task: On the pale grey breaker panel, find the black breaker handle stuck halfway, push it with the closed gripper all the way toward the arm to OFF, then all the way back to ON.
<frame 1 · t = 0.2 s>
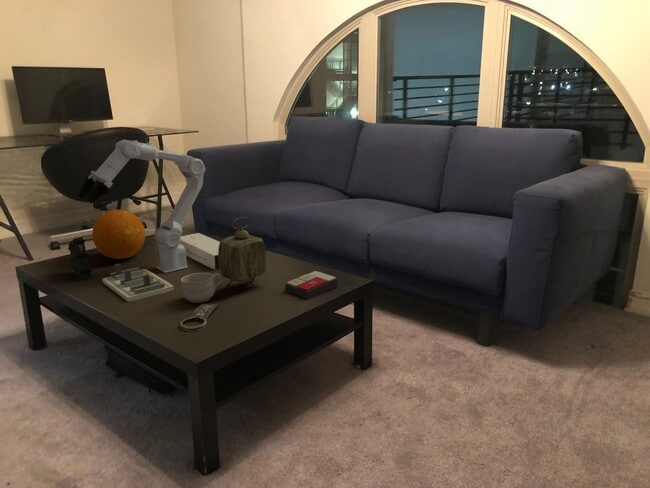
hand: (84, 199, 183), 31 cm above the table, tool tilted 45°, fingers open, 7 cm apart
metal bottle opener: (201, 319, 167), on the table
red white labeled box: (311, 290, 188), on the table
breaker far: (118, 270, 196), point 4 cm above the table, slide at 3.0 cm
teacup: (204, 299, 181), on the table
breaker panel: (137, 286, 193), on the table
laminator: (208, 258, 224), on the table
tabletop clock: (245, 287, 191), on the table
breaker mid: (127, 277, 190), point 4 cm above the table, slide at 3.0 cm
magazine: (81, 275, 205), on the table
decorative sphere: (122, 258, 224), on the table
breaker tripped: (146, 282, 185), point 4 cm above the table, slide at 0.0 cm
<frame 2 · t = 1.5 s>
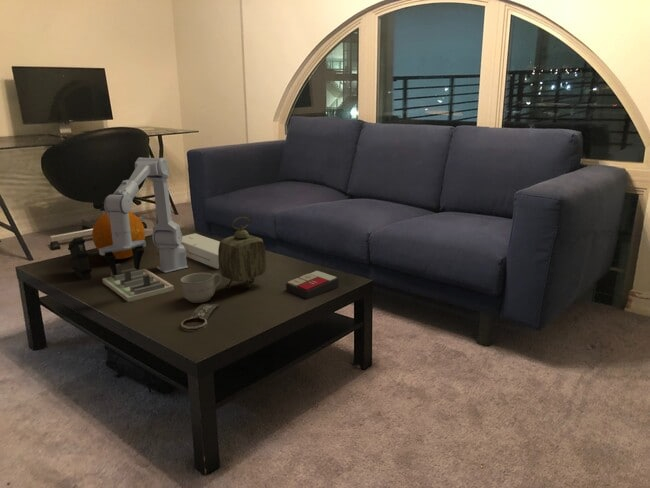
hand: (125, 271, 179), 9 cm above the table, tool pointing down, fingers open, 7 cm apart
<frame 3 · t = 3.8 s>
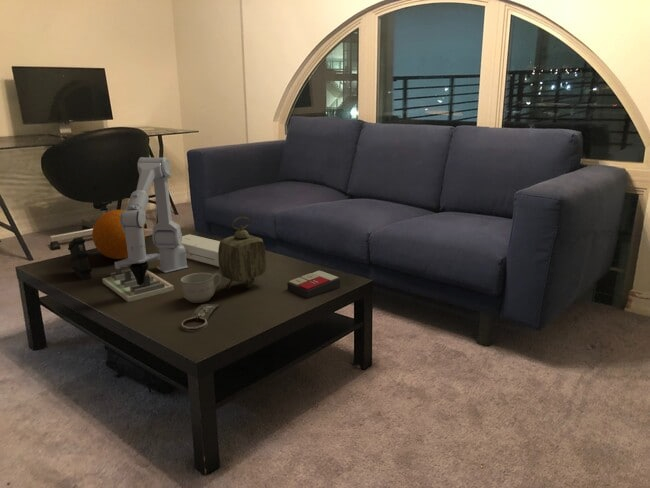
hand: (140, 284, 184), 4 cm above the table, tool pointing down, fingers closed
breaker tripped: (146, 282, 185), point 4 cm above the table, slide at 0.0 cm, touching gripper
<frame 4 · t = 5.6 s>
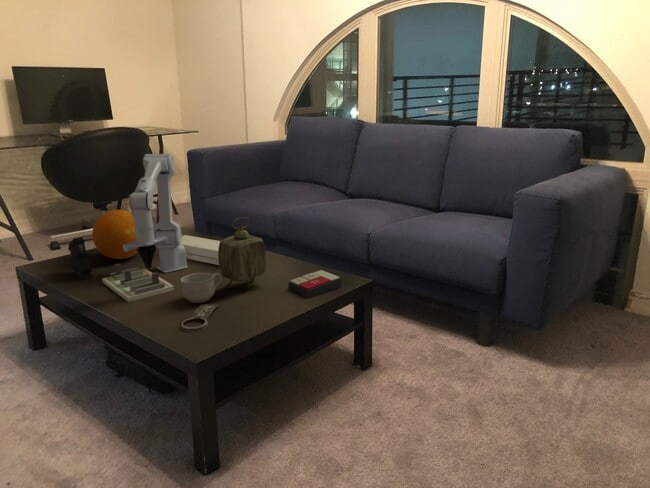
hand: (148, 267, 184), 9 cm above the table, tool pointing down, fingers closed
breaker tripped: (155, 279, 187), point 4 cm above the table, slide at -3.1 cm
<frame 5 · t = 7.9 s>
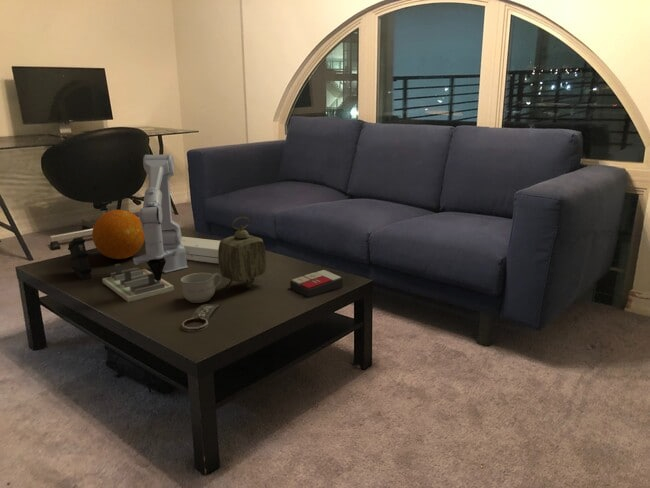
hand: (157, 279, 187), 4 cm above the table, tool pointing down, fingers closed
breaker tripped: (151, 280, 186), point 4 cm above the table, slide at -1.7 cm, touching gripper
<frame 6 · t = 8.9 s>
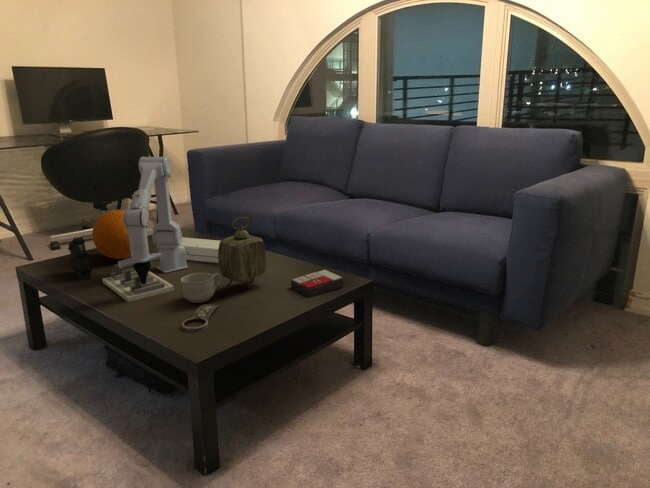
hand: (143, 283, 184), 4 cm above the table, tool pointing down, fingers closed
breaker tripped: (137, 284, 183), point 4 cm above the table, slide at 3.2 cm, touching gripper
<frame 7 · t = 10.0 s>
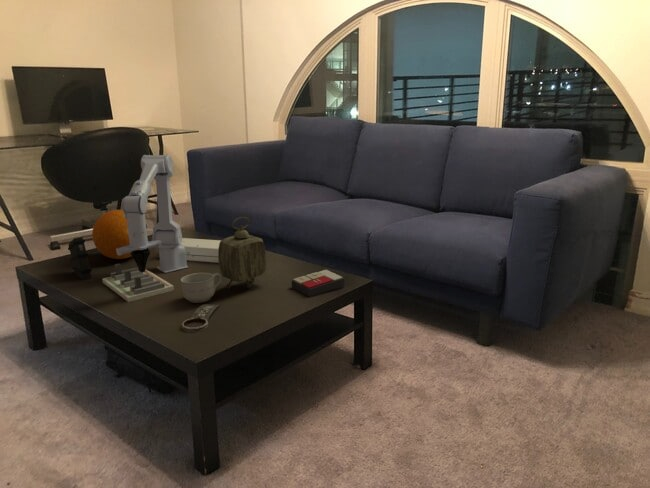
hand: (142, 271, 183), 8 cm above the table, tool pointing down, fingers closed
breaker tripped: (138, 284, 183), point 4 cm above the table, slide at 3.1 cm
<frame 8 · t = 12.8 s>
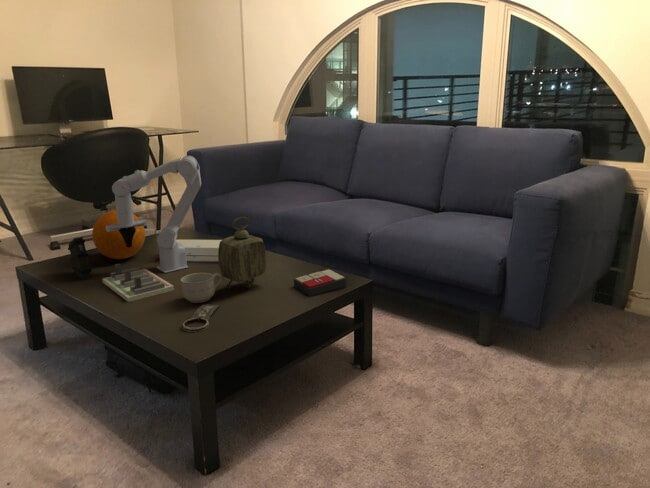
hand: (129, 246, 206), 9 cm above the table, tool pointing down, fingers closed
at the end: breaker tripped slide at 3.1 cm; breaker mid slide at 3.0 cm; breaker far slide at 3.0 cm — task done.
